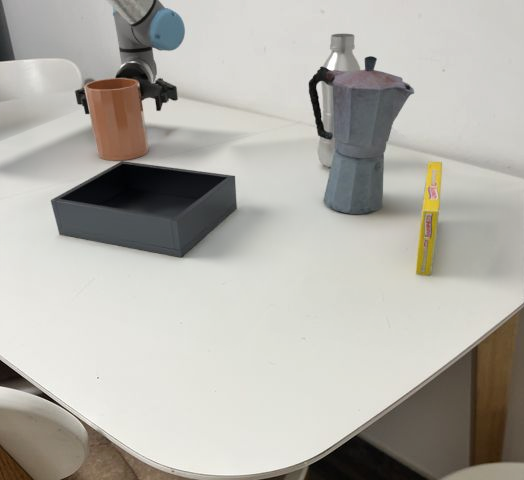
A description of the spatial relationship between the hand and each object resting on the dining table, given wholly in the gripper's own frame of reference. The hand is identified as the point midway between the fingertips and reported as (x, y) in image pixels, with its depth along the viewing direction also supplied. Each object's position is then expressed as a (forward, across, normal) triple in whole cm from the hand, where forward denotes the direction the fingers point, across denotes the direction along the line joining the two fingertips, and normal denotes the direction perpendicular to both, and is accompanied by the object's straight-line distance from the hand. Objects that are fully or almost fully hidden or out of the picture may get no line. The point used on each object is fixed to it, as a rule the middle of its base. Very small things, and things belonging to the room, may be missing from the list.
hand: (121, 105), depth 108 cm
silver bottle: (+19, -38, -7) cm, 43 cm away
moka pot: (+36, -38, -7) cm, 52 cm away
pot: (+6, 0, -7) cm, 9 cm away
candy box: (+51, -45, -7) cm, 68 cm away
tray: (+39, -8, -7) cm, 40 cm away
